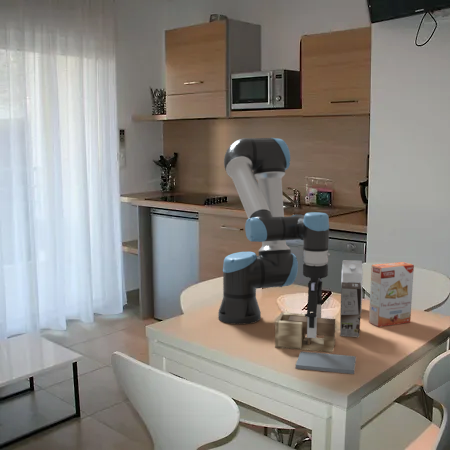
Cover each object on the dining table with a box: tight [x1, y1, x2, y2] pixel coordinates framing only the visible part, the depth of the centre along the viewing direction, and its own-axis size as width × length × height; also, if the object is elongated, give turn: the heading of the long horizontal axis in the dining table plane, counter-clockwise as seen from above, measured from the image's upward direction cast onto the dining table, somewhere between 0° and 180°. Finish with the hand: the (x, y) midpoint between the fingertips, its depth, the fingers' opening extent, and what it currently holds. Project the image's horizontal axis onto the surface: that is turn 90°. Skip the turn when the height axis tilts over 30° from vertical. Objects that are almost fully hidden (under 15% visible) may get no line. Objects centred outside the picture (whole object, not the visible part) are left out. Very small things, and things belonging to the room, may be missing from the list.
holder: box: [274, 311, 336, 353], centre depth 184 cm, size 18×11×8 cm, turn 75°
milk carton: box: [340, 259, 364, 310], centre depth 219 cm, size 7×7×19 cm
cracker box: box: [368, 261, 415, 328], centre depth 204 cm, size 14×6×21 cm, turn 114°
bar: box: [288, 316, 336, 337], centre depth 183 cm, size 14×5×4 cm, turn 75°
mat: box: [295, 350, 357, 375], centre depth 168 cm, size 16×11×1 cm
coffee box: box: [339, 282, 362, 338], centre depth 194 cm, size 9×6×16 cm
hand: (314, 330), depth 183 cm, fingers open, 13 cm apart
